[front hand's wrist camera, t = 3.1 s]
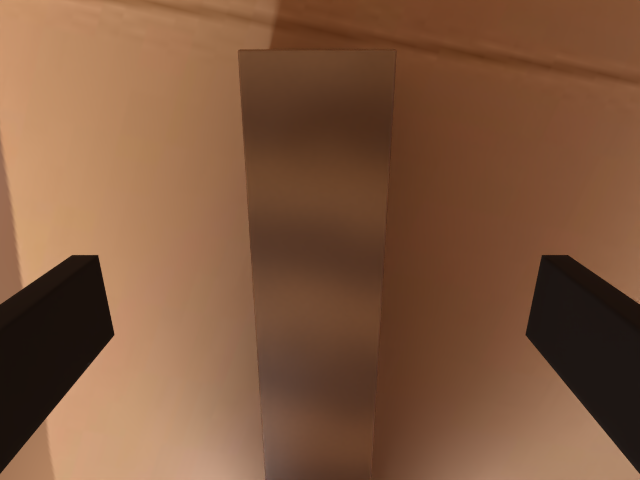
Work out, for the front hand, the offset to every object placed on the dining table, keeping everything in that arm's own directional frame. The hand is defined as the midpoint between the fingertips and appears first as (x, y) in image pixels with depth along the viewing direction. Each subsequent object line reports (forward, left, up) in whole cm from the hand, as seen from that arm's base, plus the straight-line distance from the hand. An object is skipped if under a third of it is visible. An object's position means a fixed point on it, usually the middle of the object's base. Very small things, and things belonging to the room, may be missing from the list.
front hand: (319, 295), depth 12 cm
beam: (+16, +7, -12) cm, 22 cm away
